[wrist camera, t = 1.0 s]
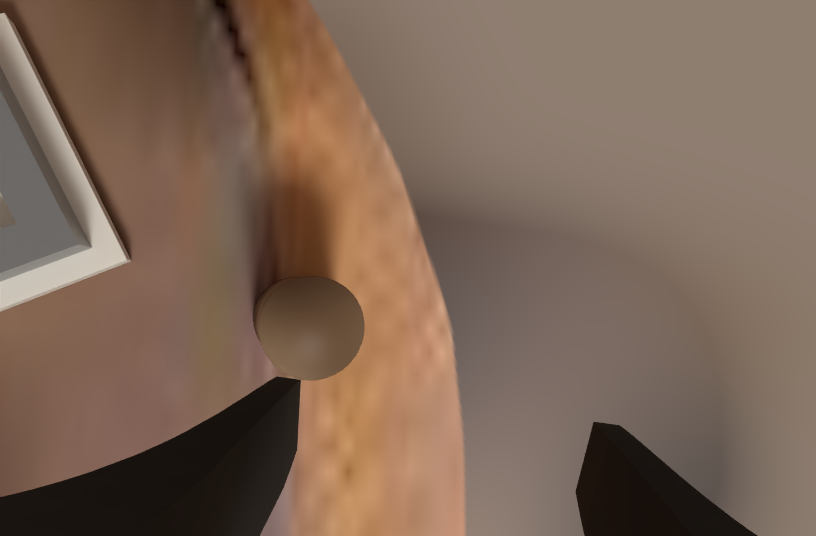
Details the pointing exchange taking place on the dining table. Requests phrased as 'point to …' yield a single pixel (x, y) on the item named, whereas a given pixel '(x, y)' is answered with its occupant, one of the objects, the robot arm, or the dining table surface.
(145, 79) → the dining table surface
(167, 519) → the robot arm
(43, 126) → the socket block
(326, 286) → the peg
